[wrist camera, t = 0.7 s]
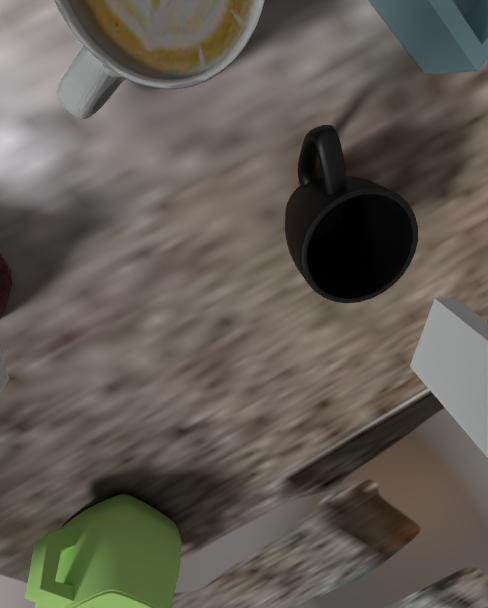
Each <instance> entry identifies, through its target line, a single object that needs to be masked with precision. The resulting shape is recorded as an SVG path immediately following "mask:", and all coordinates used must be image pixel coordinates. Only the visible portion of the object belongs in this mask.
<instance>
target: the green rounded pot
mask: <svg viewBox="0 0 488 608" xmlns="http://www.w3.org/2000/svg"><path fill="white" fill-rule="evenodd" d="M180 558H181V538H180V534H179V531H178V529H177V527H176V525H175V523H174V522H173V521H172V520H171V519H169V518H168V517H167V516H165V515H164V514H162V513H161V512H159V511H158V510H156V509H155V508H153V507H151V506H149V505H148V504H146V503H144V502H142V501H141V500H139V499H137V498H135V497H133V496H130V495H127V494H122V495H117V496H114V497H111V498H109V499H106V500H104V501H102V502H100V503H98V504H96V505H94V506H92V507H90V508H88V509H86V510H85V511H83V512H81V513H80V514H78V515H77V516H75V517H74V518H73V519H72V520H70V521H69V522H68V523H67V524H65V525H64V526H63V527H62V528H61V529H60V530H58V531H54V532H50V533H48V534H46V535H45V536H43V537H42V538H40V539H39V540H37V541H36V542H35V545H34V551H33V556H32V562H31V567H30V573H29V579H28V584H27V590H26V596H25V599H27V600H30V601H33V602H35V608H171V604H172V600H173V596H174V591H175V588H176V583H177V578H178V573H179V567H180Z"/></svg>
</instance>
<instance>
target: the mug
mask: <svg viewBox="0 0 488 608" xmlns="http://www.w3.org/2000/svg"><path fill="white" fill-rule="evenodd" d="M317 153H318V155H319V159H320V163H321V167H322V172H323V177H324V178H320V179H317V176H316V169H315V164H316V157H317ZM298 177H299V182H300V187H298V188H297V189H296V190H295V191H294V193H293V194H292V195H291V197H290V199H289V201H288V203H287V207H286V214H285V234H286V239H287V244H288V248H289V251H290V254H291V256H292V258H293V261H294V263H295V265H296V267H297V268H298V270H299V271H300V273H301V274H302V276H303V277H304V278H305V280H306V281H307V283H308V284H309V285H310V286H311V288H312V289H313V290H314V291H315V292H317V293H318V294H319V295H321V296H322V297H324V298H327V299H329V300H332V301H335V302H341V303H355V302H361V301H365V300H368V299H371V298H373V297H375V296H377V295H379V294H381V293H383V292H384V291H386V290H387V289H388V288H390V287H391V286H393V285H394V284H395V283H396V282H397V281H398V279H399V278H400V277H401V276H402V275H403V274H404V272H405V271H406V269H407V268H408V266H409V265H410V263H411V261H412V258H413V256H414V254H415V251H416V246H417V242H418V226H417V222H416V218H415V215H414V213H413V211H412V209H411V208H410V206H409V204H408V203H407V202H406V201H405V200H404V199H403V198H402V197H401V196H400V195H398V194H396V193H394V192H392V191H390V190H389V189H386V188H384V187H382V186H380V185H378V184H376V183H374V182H371V181H369V180H365V179H361V178H356V177H351V176H346V170H345V164H344V158H343V152H342V148H341V143H340V140H339V137H338V134H337V132H336V130H335V129H334V127H333V126H331V125H322V126H319V127H316V128H314V129H312V130H311V131H309V133H308V134H307V135H306V136H305V139H304V142H303V145H302V149H301V153H300V157H299V162H298Z"/></svg>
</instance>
